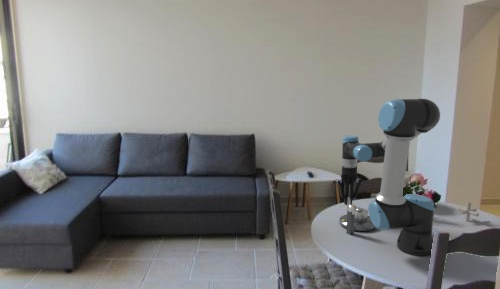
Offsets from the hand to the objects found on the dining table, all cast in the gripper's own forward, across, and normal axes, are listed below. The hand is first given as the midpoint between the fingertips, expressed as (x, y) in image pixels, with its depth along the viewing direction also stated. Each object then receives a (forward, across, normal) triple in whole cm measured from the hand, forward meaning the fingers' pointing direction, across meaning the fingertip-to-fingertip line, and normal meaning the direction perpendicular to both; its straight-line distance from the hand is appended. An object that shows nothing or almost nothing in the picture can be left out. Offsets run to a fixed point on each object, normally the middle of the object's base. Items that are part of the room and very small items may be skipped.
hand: (347, 210), depth 198 cm
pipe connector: (+4, +58, -12) cm, 59 cm away
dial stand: (+4, -6, -19) cm, 20 cm away
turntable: (+4, +2, -9) cm, 10 cm away
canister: (+4, +35, +16) cm, 39 cm away
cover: (+2, +3, -9) cm, 9 cm away
